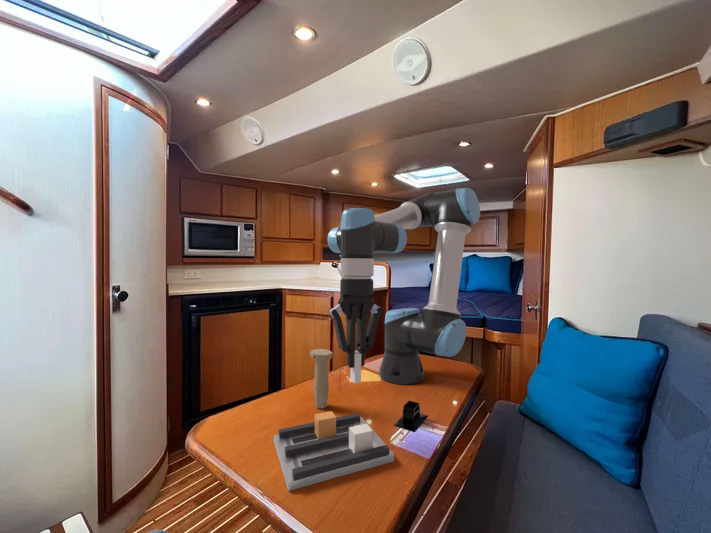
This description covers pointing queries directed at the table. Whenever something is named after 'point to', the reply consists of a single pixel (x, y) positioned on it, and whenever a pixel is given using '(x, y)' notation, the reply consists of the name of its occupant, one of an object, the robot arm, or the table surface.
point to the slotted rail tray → (326, 442)
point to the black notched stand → (411, 417)
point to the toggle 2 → (360, 438)
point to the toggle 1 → (325, 424)
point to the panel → (323, 456)
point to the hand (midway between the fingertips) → (355, 380)
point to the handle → (321, 376)
